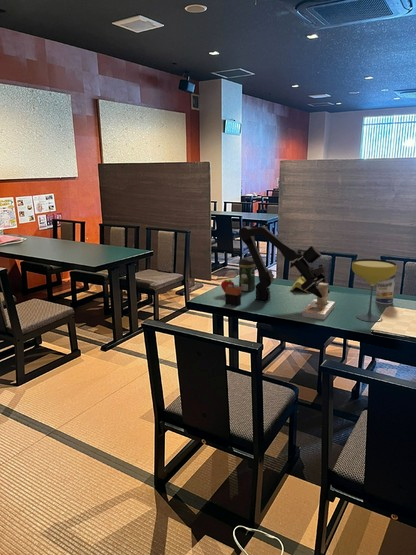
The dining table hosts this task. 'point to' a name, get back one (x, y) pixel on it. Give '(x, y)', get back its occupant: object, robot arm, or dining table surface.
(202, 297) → the dining table surface
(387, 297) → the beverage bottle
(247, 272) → the coffee jar
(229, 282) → the strawberry
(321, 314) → the white flat box
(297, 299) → the dining table surface
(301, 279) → the plastic component
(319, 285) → the peg
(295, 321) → the dining table surface
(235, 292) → the battery
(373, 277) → the cocktail glass
